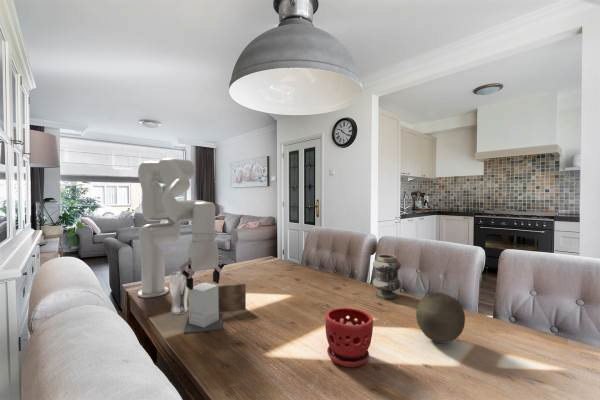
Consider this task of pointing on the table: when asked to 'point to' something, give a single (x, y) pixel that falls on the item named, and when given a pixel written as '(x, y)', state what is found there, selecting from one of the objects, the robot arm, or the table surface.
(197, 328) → the mat
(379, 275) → the apothecary jar
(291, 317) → the table surface
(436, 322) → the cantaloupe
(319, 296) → the table surface
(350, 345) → the plant pot
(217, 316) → the supplement box
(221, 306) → the wood grain panel
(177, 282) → the metal tumbler
